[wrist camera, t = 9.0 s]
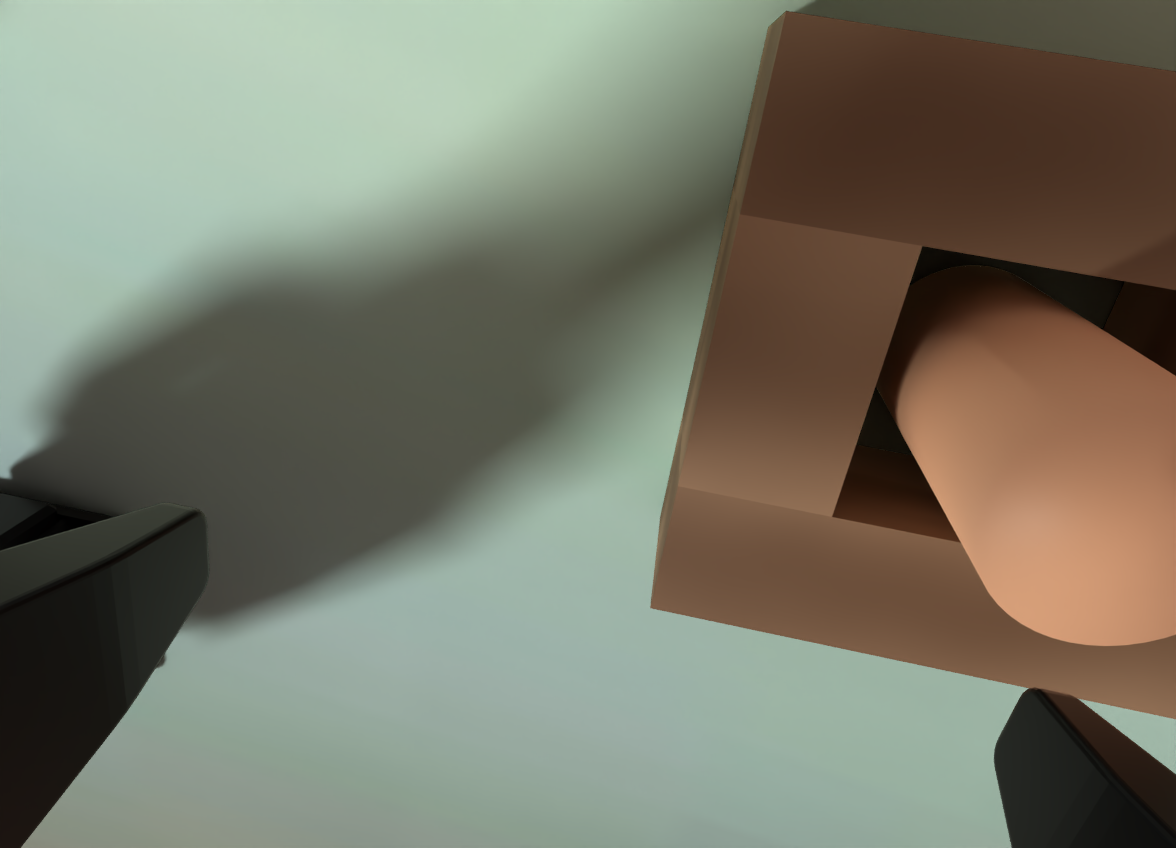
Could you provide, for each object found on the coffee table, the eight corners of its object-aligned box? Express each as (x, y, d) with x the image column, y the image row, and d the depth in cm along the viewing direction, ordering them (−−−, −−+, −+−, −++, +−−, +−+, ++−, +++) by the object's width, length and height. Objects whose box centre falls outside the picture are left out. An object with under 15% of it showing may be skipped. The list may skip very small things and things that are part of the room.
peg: (1013, 442, 19) (1205, 670, 11) (848, 411, 19) (935, 614, 12) (1082, 282, 17) (1359, 431, 10) (900, 250, 17) (1037, 373, 10)
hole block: (1111, 608, 20) (1199, 724, 16) (660, 517, 21) (650, 608, 17) (1378, 123, 15) (1591, 136, 11) (768, 27, 16) (785, 11, 12)
